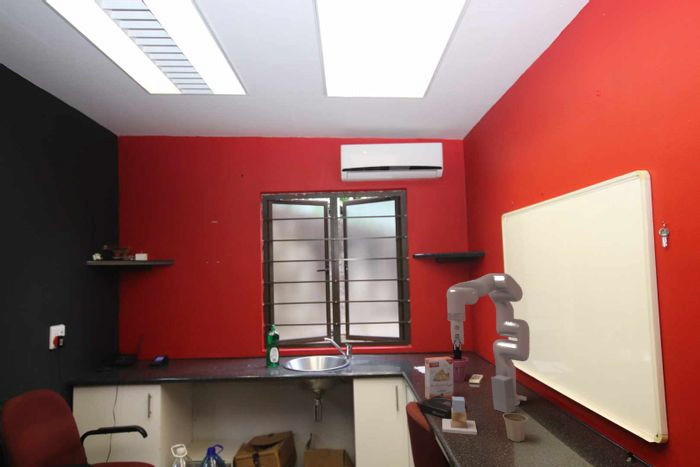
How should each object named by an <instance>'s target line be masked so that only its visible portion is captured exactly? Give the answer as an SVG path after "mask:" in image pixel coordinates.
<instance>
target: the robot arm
mask: <svg viewBox="0 0 700 467" xmlns="http://www.w3.org/2000/svg"><path fill="white" fill-rule="evenodd" d="M523 294H524V293H523V289H522V287H521V285H520V284H518V282H517V281H516V279H515V278H513V276H511V275H510V274H508V273H501V272H499V273H495V272H494V273H492V272H491V273H487V274H485V275H483V276H481V277H478V278H476V279H472V280H468V281H463V282H458V283H456V284H453V285H452V286H449V288H448V289H447V291H446V300H447V301H446V302H447V304H446V305H447V308H446V309H447V321H449V322H450V334H451V337H450V338H451V341H452V353H453V356H454V359H462V357H463V355H462V347H461V346H462V345H465V334H464V322H465V321H466V305H474V304H476V303H477V302H478V300H479V298H481V297H485V296H487V295H488V297H489V298H490V299H491V301H492V302H493V303H494V304H493V305H494V306H495V310H496V311H495V312H496V322H495V323H496V324H495V325H496V333H497V334H498V336H501V337H505V338H499V339H496V340H495V341H494V342H493V343H492V351H493V356H494V362H495V363H494V364H495V376H498V375H502V376H506V377H510V378H513V386H514V397H515V407H517V406H519V405H520V403H521V401H527V400H528V399H527V396H523V394H522V395H521V394H520V395H518V393H517V380H516V379H517V378H516V367H515V366H516V365H515V363H514V362H513V361H518V362H526V361H528V359H529V357H530V350H531V349H530V347H531V346H530V343H531V342H530V341H531V340H530V339H531V338H530V326H529V323H528V322H527V321H526V320H524V319H520V318H515V314H514V313H515V310H514V306H513V304H512V303H517V302H520V301H521V300H522V299H523ZM511 302H512V303H511ZM506 338H512V339H513V338H514V339H516V340H512V339H506Z"/></svg>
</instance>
